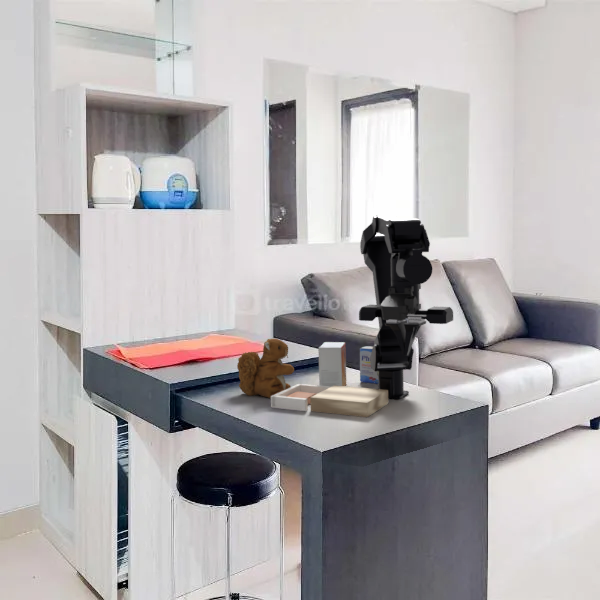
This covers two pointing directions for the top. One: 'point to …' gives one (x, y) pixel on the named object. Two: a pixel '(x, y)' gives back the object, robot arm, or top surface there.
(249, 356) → the stuffed squirrel
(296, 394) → the tile
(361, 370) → the medicine box
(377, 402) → the plate
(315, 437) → the top surface
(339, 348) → the small box
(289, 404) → the box
